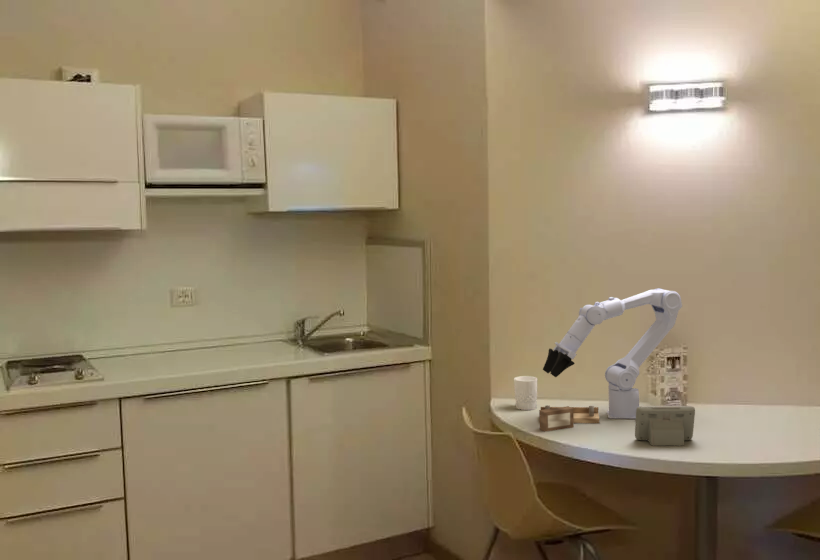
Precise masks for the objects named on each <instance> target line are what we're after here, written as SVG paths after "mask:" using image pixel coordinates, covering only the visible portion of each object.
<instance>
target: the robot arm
mask: <svg viewBox="0 0 820 560" xmlns="http://www.w3.org/2000/svg"><path fill="white" fill-rule="evenodd" d="M645 305H650V306H651V307H652V310H653V312H654V316H655V321H653V323H652V324H651V325H650V327H649V328H648V329H647V330H646V331H645V332H644V334H643V335H642V336H641V337H640V339H638V341H637V342H636V343H635V344H634V346H633V347H632V348H631V349H630V350H629V351H628V353H627V354H626V355H625V356H624V357H621V358H619V359H617V360H616V362H615V363H613V364H611V365H609V366H608V367H607V368H606V370H605V371H604V378H605V381H607V383H608V410H606V414H607V417H608V419H625V420H626V419H627V420H630V419H634V420H636V410H637V408H638V407H641V406H640V391H639V388H638V387H637V388H635V387H634V386H635V385H636V381H637V379H638V377H639V376H640V367H641V366H642V364H643V363H644V362H645V361H646V360H647V358H649V356H650V355H651V354H652V353H653V352H654V351H655V349H656V348H657V347H658V346H659V345H660V343H661V342H662V341H663V340H664V339H665V337H666V336H667V335H668V334H669V333H670V331H671V330H672V329H673V328H674V327H675V325H676V321H677V318H678V315H679V311H680V310H681V309H682V308H683V302H682V298H681V295H680V293H678V292H677V291H675V290H668V289H663V288H660V287H659V288H658V287H657V288H654V289H649V290H646V291H643V292H640V293H638V294H634V295H632V296H629V297H626V298H624V299H620V298H619V297H614V296H610V297H608V299H607V300H604V301H600V302H599V301H594V304H585V305H583V307H580V308H579V311H578V317H577V318H576V319H575V321H574V322H573V323H572V325H571V326H570V328H569V329H568V330H567V332H566V333H565V335H564V336H563V337H562V339H561V340H560V342H558V341H555V342H554V345H555V346H554V347H553V349H552V348H549V349H548V352H547V353H548V355H547V357H546V361H545V363H544V365H543V367H542V370H543V372H544V373H547V374H549V373H550V375H551V376H553V377H554V378H557V377H558V376H560V375H561V374H562V373H563V372H565V371H566V370H567V369H569V368H570V367H571V366H573V365H574V366H575V362H574V361H573V360H575V358H576V356H577V351H578V350H579V348H580V347H581V346H582V345H583V343H584V342H585V340H586V339H587V337H588V336H589V334H590V333H591V332H592V331H593V329H594V328H595V326H596V325H601V324H602V323H603V321H606V320H609V319H613V318H616V317H619V316H622V315H623V314H624V313H625V311H626V310H629V309H635V308H638V307H642V306H645ZM633 387H634V388H633Z"/></svg>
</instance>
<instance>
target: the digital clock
mask: <svg viewBox="0 0 820 560" xmlns="http://www.w3.org/2000/svg"><path fill="white" fill-rule="evenodd" d="M695 415H696V408H695V407H694V406H691V405H643V406H640V407H638V408H637V410H636V419H635V425H634V427H635V428H634V437H635V439H636V440H637V441H648V440H649V441H648V442H650V443H651V444H650V443H649V444H650V446H651V445H674V447H676V446H675V445H684V446H685V441H690V440H692V439H693V436H694V426H695V425H694V424H695Z"/></svg>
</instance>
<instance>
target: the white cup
mask: <svg viewBox="0 0 820 560" xmlns="http://www.w3.org/2000/svg"><path fill="white" fill-rule="evenodd" d="M513 386H514V387H513V388H514V399H515V407H516V409H517V408H518V409H517V410H520V409H521V411H533V410H536V409H537V406H538V404H537V399H538V377H536V376H532V375H521V376H519V375H518V376H515V377H514V378H513ZM535 408H536V409H535Z"/></svg>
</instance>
